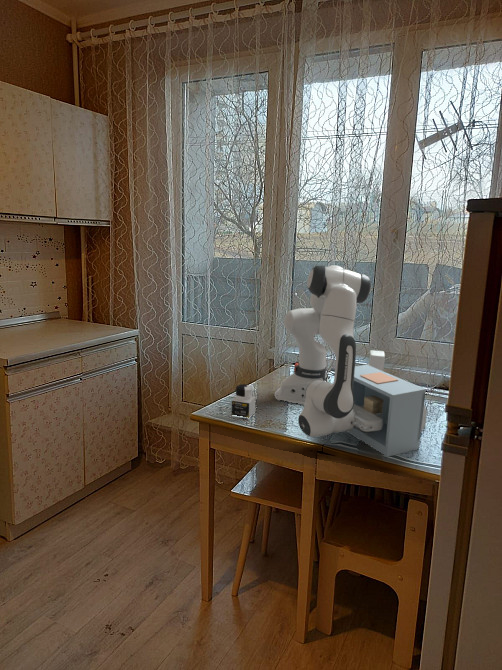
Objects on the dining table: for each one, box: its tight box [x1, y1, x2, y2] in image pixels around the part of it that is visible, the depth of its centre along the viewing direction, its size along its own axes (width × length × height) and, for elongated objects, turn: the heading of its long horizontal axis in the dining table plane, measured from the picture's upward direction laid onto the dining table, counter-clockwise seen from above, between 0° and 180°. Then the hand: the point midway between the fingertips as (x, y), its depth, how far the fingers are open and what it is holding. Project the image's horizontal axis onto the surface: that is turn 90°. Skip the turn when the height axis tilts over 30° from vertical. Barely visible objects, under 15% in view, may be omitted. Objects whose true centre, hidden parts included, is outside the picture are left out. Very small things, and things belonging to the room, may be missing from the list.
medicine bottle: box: [231, 383, 256, 418], centre depth 183 cm, size 7×7×12 cm
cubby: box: [347, 364, 427, 458], centre depth 167 cm, size 14×29×22 cm, turn 27°
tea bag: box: [421, 404, 428, 432], centre depth 175 cm, size 4×7×10 cm, turn 147°
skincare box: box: [368, 349, 386, 372], centre depth 221 cm, size 8×7×16 cm
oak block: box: [364, 396, 383, 419], centre depth 167 cm, size 4×4×11 cm
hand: (374, 411), depth 167 cm, fingers closed on oak block, 4 cm apart
